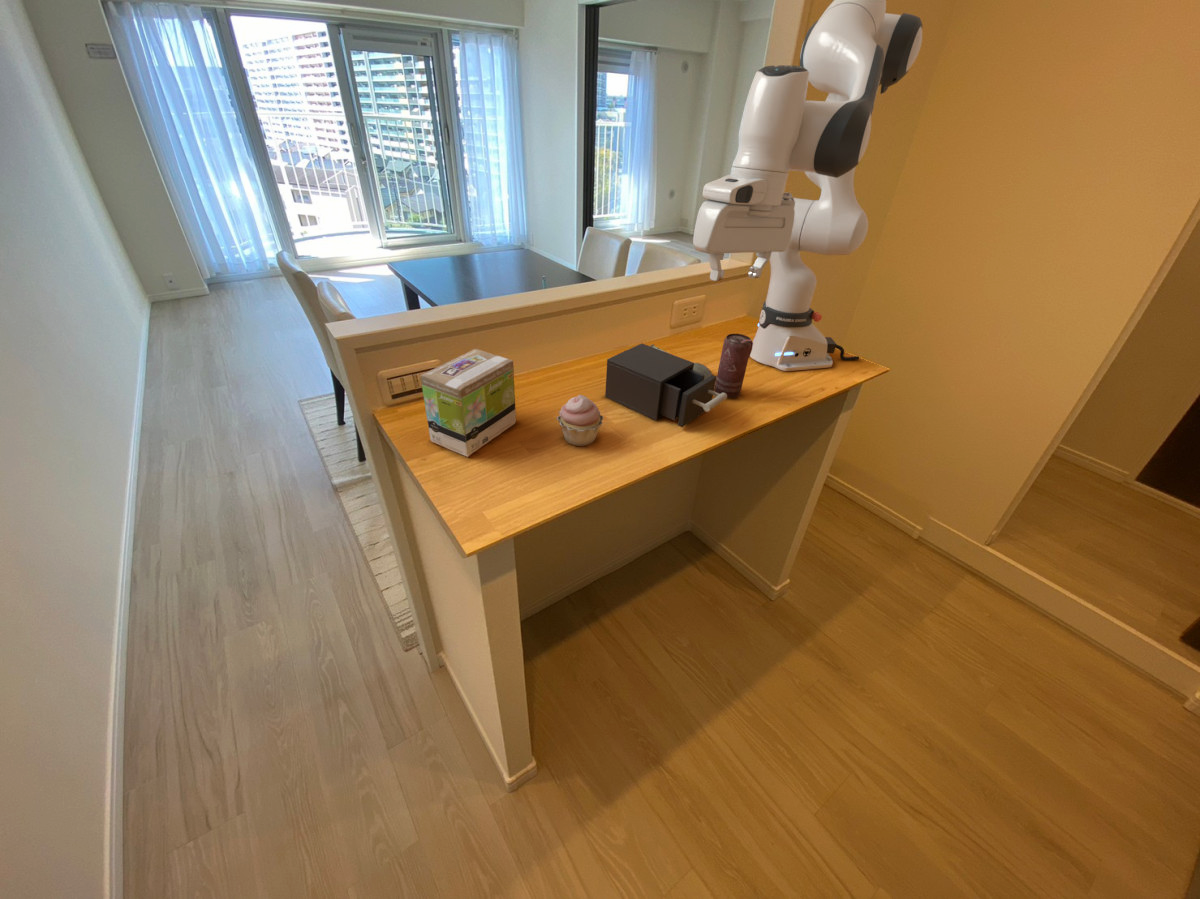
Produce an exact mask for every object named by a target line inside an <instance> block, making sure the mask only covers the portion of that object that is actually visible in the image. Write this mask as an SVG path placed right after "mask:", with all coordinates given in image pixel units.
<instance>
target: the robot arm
mask: <svg viewBox="0 0 1200 899" xmlns="http://www.w3.org/2000/svg"><path fill="white" fill-rule="evenodd" d="M886 11H887V0H833V1H832V2H831V3H830V4H829V5H828V6H827V8H826V9H825V11H824V12H823V13H822V15H820V17H819V19H817V20H816V21H815V22H814V23H813V24H812V25H811V26H810V27H809V28H808V30H807V31H806V33H805V34H806V35H805V37H804V40H803V43H802V45H801V49H800V55H799V65H785V64H784V65H780V64H779V65H767V66H764V67H762V68H759V69H758V70H757V71H756V73H755V74H754V76H753V79H752V82H751V83H750V84H751V85H750V88H749V91H748V93H747V96H746V101H745V103H744V108H743V112H742V115H741V120H740V125H739V130H738V136H737V137H738V138H737V139H738V146H737V147H738V148H737V152H736V155H735V158H734V159H733V161H732V164H731V169H730V173H729V174H726V175H724V176H722V177H720V178H717V179H715V180H712V181H710V182H707V183H706V184H704V185H703V188H702V198H703V199H705V201H704V202H702V204H701V205H700V207H699V209H698V211H697V216H696V220H695V226H694V230H693V236H692V244H693V247H694V249H695V251H698V252H700V253H704V254H708V256H707V259H708V262H709V266H710V274H709V279H710V281H713V282H721V281H723V280H724V276H725V270H724V269H722V264H721V261H723V260H724V257H725V254H742V253H743V254H745V253H755V255H756V257H757V258H756V259H755V261H754V263H753V265H752V266H749V268H748V273H747V277H748V278H749V279H760V278H761V276H762V274H763V269H764V268H765V266H766V265H767V263H768V262H769V265H770V275H769V276H770V277H769V284H768V289H767V293H766V299H765V301H764V302H763V304H762V308H761V311H760V315H759V319H758V320H759V321H758V323H757V330H756V333H755V335H754V338H753V339H752V341H753V347H752V351H751V354H750V356H749V358H750V359H752V360H754V361H755V362H758V363H760V364H763V365H766V366H770V367H773V368H776V369H777V370H780V371H783V372H793V371H794V372H795V371H805V370H815V369H817V370H818V369H827V368H828V369H829V368H832V367H833V365H834V364H833V363H834V360H833V358H832V356H831V355H830V354H835V351H836V349H837V350H839V352H840V353H839V358H840V359H841V360H843V361H858V360H860V356H848V357H847V356H844V354H845V349H844V347H842V346H841V345H839V344H837V342H835V340H834V339H833V338H832V337H831V336H825V335H824V334H823V333H822V332H821V330H819V328H818V327H817V326H816V325H815V324H814V323H813V321H814V322H815V323H818V322H820V321H822V319H823V318H822V317H823V316H822V314H820V312H818V311H815V310H814V309H812V308H811V304H812V302H813V298H814V294H815V291H816V288H817V285H818V280H817V276H816V274H815V272H814V271H813V270H812V268H811V267H809V266H808V265H806V263H804V261H803V260H802V257H801V252H806V253H813V254H818V255H823V256H849V255H851V254H852V253H853V254H854V252H856V251H857V250H858V248H860V247H861V246H862V244H863V243H864V242H865V239H866V238H867V235H868V231H869V219H868V216H867V213H866V212H865V210H864V209H863V208H862V206H861V204H860V203H859V201H858V199H857V197H856V192H855V185H854V180H855V173H856V168H857V166H858V165H859V164H860V161H862V158H863V157H864V155H865V153H866V151H867V149H868V145H869V142H870V139H871V134H872V117H873V112H874V109H875V103H876V99H877V95H878V91H879V87H880V95H883V94H884V93H886V92H887V91H888V89H889V87H891V86H894V85H895V84H897V83H899V82H900V81H901V80H902V79H903V78H905V76H906V75H907V74H908V72H909V71H910V69H911V67H913V65H914V63H915V61H916V60H917V59H918V56H919V53H920V52H921V48H922V44H923V25H924V24H923V22H922V19H921V17H919V16H917V15H915V14H911V13H906V12H903V13H902V14H896V13H888V12H886ZM809 84H810V85H811V86H812V87H814V88H815V89H816V90H818V91H820V92H822V93H826V94H828V95H827V97H826V99H825V100H807V94H808V87H809ZM790 171H795V172H804V174H805V176H806V177H807V179H809V180H810V182H811V183H813V184H814V185H815V186H817V187H818V188H819V189H820V191H821V192H820V196H819V199H816V200H814V199H806V198H799V197H794V196H793V193H791V192H785V190H786V185H787V182H788V177H789V173H790Z"/></svg>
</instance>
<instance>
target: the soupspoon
mask: <svg viewBox="0 0 1200 899" xmlns="http://www.w3.org/2000/svg"><path fill="white" fill-rule="evenodd" d="M649 346H650V347H653V348H656V349H658V350H661V351H664V352H666V353H669V352H668V351H665V350H663V349H661V348H659V347H657V346H655V344H650V345H649ZM669 354H671V353H669ZM693 363H694V367H693V370H694V371H696V372H699V373H701V374H704V375H705V376H704V380H705V379H706V378H708V377H710V376H711V375H713V373H712V371H711V369H710V368H708V366H706V365H705V364H702V363H699V362H693Z"/></svg>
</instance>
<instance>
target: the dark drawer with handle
mask: <svg viewBox="0 0 1200 899" xmlns="http://www.w3.org/2000/svg"><path fill="white" fill-rule="evenodd" d="M704 376H705V375H704V374H701V373H699V372H696V371H694V370H691V369H688V370H686V371H684V372H682V373H681V374H679V375H677V376H675V377H674V378H672V379H670V380H668V381H667V382H665V383H663V386H662V394H661V402H660V410H659V414H661V415H663V417H666V418H667V419H669V420H672V421H676V420H677V419H678V421H677V426H678V427H680V428H684V427H685V426H687V425H688V424H690V423H691V422H692V421H694V420H695V419H697V418H698V417H700V416H701V415H702V414H704V413H706V412H710V411H711V410H713V409H714V408H716V407H717V406H719V405H720V404H722V403H723V402H724V401H727V400H728V398H727V394H726V393H721V394H719V393H717V392H715V390H714V388H715V383H716V378H717V375H713V374H712V375H711V376H710V377H708V378H706V379H705V380H704ZM714 396H715V397H714Z"/></svg>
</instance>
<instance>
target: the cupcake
mask: <svg viewBox="0 0 1200 899" xmlns="http://www.w3.org/2000/svg"><path fill="white" fill-rule="evenodd" d="M558 414H559V416H557V417H556V418H555V419H556V421H558V423H559V426H560V427H561V431H562V433H563V437H564V439H565V441H566V442H567V443H568V444H570V445H571V446H576V447H585V446H589V445H591V444H593V443H594V442H595V441H596V439H597V436H598V433H599V429H600V428H601V426H602V424H603V420H604V416H603V415H601V410H600V409H599V407H598V405H597V404H596V403H595V402H594V401H593V400H591V399H590V398H589V397H587V396H586V395H582V394H578V395H577V396H574V397H571V398H569V400H568V401H567V402H566V403H565V404H563V405H562V406H561V408H560V411H558Z"/></svg>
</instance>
